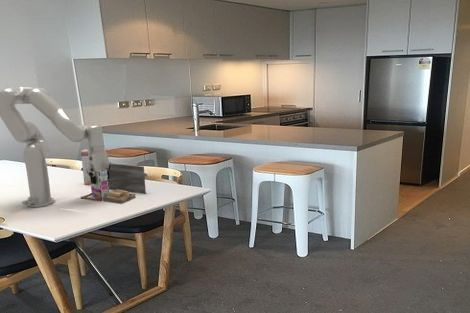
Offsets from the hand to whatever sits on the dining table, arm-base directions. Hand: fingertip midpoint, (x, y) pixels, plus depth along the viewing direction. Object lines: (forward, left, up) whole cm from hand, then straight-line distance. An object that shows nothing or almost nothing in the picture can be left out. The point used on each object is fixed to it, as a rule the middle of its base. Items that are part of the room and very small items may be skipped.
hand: (100, 181), depth 211 cm
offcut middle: (0, -11, -9) cm, 14 cm away
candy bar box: (0, +1, -10) cm, 10 cm away
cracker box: (+23, +25, -10) cm, 35 cm away
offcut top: (0, -11, -7) cm, 13 cm away
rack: (+3, -5, -10) cm, 11 cm away
